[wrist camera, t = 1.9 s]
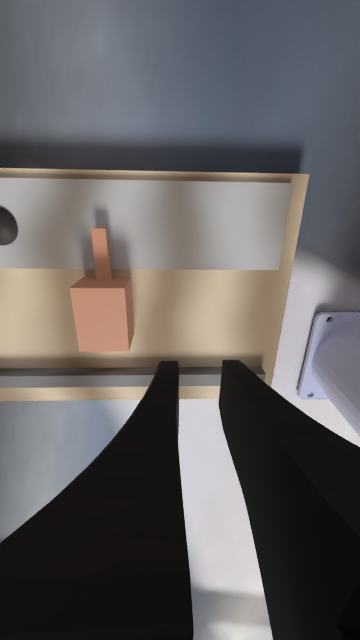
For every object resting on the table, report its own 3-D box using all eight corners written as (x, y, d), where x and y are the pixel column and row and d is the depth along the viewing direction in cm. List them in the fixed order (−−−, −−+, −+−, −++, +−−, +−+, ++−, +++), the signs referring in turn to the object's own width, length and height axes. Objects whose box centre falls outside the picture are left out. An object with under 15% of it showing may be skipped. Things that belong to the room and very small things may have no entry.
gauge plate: (297, 176, 17) (333, 168, 13) (262, 386, 23) (280, 420, 19) (-171, 167, 16) (-276, 156, 12) (-73, 389, 22) (-122, 426, 18)
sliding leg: (127, 227, 16) (120, 231, 14) (134, 333, 19) (129, 351, 16) (76, 226, 16) (60, 230, 13) (90, 333, 18) (79, 351, 16)
